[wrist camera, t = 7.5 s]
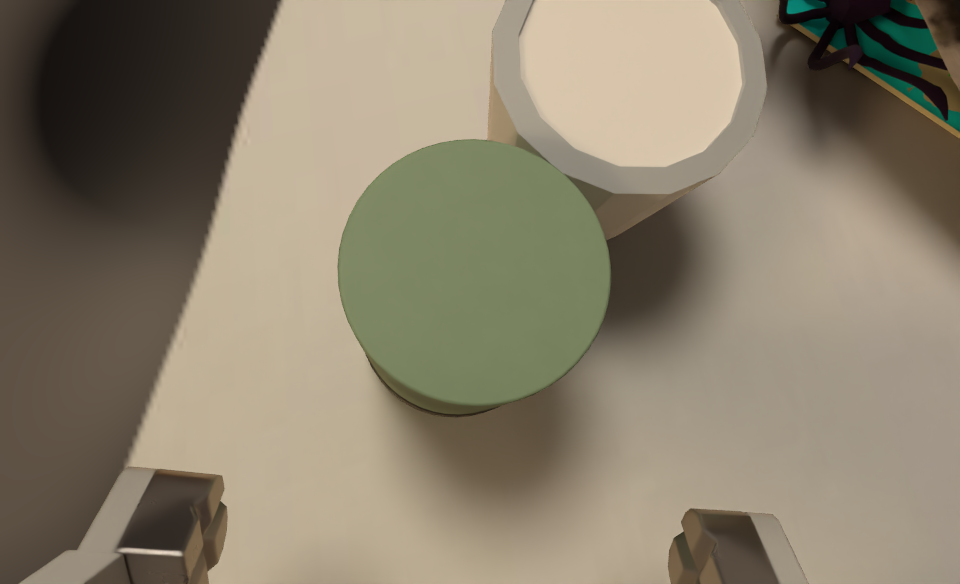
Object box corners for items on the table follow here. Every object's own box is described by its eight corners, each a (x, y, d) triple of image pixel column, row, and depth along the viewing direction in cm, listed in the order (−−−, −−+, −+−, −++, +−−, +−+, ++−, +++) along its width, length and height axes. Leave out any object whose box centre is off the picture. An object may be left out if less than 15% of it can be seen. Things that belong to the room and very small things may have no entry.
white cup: (485, 60, 23) (515, -93, 17) (674, 99, 24) (779, -35, 17) (450, 246, 22) (468, 162, 15) (653, 284, 22) (759, 219, 16)
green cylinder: (571, 294, 22) (659, 218, 14) (489, 451, 21) (536, 462, 13) (420, 209, 22) (424, 88, 14) (328, 361, 21) (278, 318, 13)
